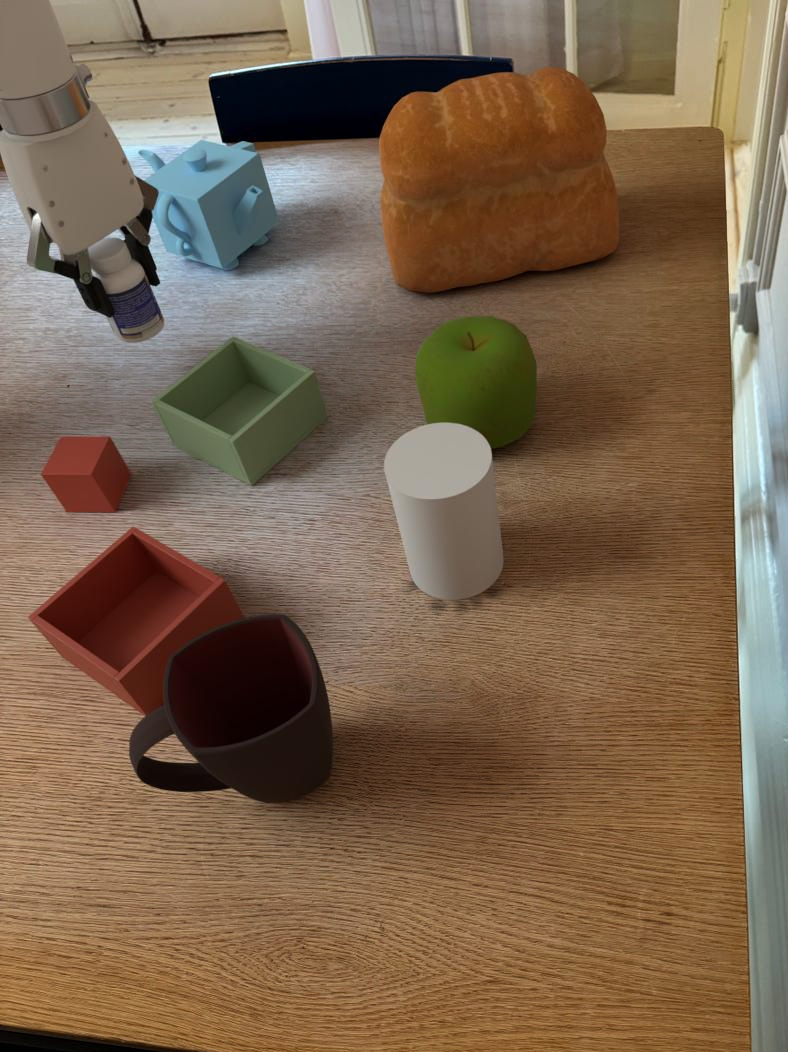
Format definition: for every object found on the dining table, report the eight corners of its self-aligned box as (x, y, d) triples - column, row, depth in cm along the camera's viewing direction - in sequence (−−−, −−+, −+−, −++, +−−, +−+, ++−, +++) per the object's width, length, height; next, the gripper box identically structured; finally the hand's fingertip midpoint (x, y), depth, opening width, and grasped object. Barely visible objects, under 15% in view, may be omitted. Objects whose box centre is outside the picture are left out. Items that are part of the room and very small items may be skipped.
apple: (464, 484, 81) (449, 389, 72) (405, 423, 87) (384, 327, 78) (562, 431, 84) (559, 333, 75) (498, 375, 89) (489, 278, 81)
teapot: (238, 298, 102) (204, 202, 92) (129, 263, 108) (87, 170, 99) (321, 227, 109) (296, 132, 100) (213, 198, 115) (181, 106, 106)
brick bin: (61, 656, 74) (27, 617, 69) (159, 568, 79) (133, 525, 74) (149, 719, 70) (118, 681, 65) (247, 621, 74) (225, 579, 70)
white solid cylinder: (518, 541, 76) (509, 436, 67) (479, 611, 72) (463, 510, 63) (435, 517, 79) (414, 413, 69) (393, 584, 75) (364, 483, 65)
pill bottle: (176, 322, 92) (143, 242, 85) (139, 350, 90) (102, 269, 82) (141, 308, 94) (107, 228, 87) (104, 334, 92) (65, 254, 84)
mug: (373, 794, 64) (335, 711, 54) (188, 871, 62) (114, 799, 52) (334, 689, 69) (293, 596, 60) (163, 756, 67) (92, 671, 58)
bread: (628, 263, 98) (636, 97, 84) (398, 307, 98) (366, 148, 84) (593, 192, 107) (595, 32, 93) (382, 232, 107) (352, 77, 93)
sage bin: (172, 445, 88) (150, 401, 83) (250, 381, 93) (233, 336, 88) (251, 486, 84) (232, 442, 79) (329, 416, 88) (315, 371, 84)
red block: (66, 512, 84) (40, 474, 80) (84, 474, 87) (60, 436, 83) (115, 512, 83) (91, 474, 79) (132, 474, 86) (110, 436, 82)
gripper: (91, 55, 79) (164, 245, 94) (-72, 137, 72) (35, 330, 86) (147, 71, 76) (213, 265, 91) (-17, 158, 69) (83, 354, 83)
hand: (125, 295), depth 89 cm, fingers closed on pill bottle, 5 cm apart
